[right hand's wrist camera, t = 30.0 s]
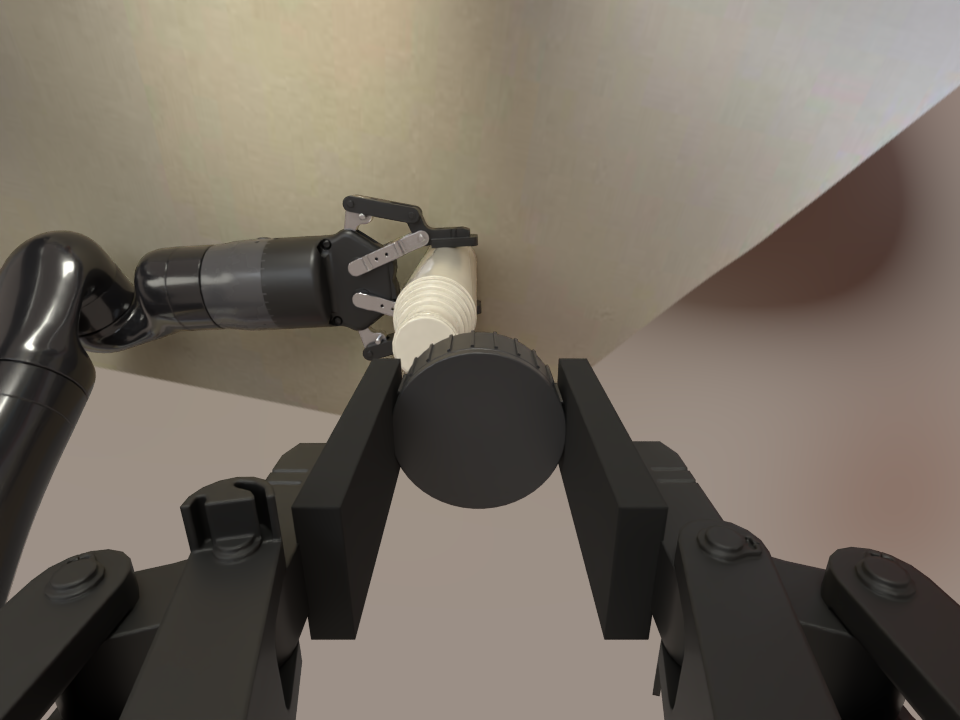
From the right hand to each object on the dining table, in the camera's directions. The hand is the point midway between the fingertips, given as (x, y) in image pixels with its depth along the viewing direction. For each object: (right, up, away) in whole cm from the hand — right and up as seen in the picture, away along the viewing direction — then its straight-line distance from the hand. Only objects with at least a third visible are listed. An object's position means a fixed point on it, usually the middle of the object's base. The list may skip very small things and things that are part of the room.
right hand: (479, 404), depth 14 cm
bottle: (-3, +11, +35) cm, 37 cm away
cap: (0, -1, -1) cm, 1 cm away
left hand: (0, +8, +29) cm, 30 cm away
